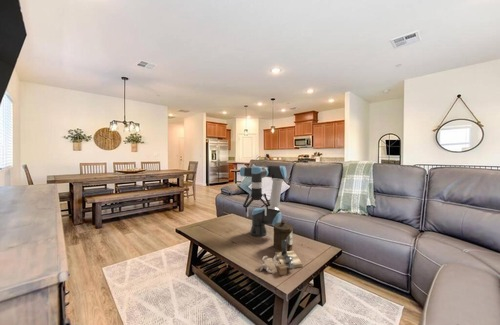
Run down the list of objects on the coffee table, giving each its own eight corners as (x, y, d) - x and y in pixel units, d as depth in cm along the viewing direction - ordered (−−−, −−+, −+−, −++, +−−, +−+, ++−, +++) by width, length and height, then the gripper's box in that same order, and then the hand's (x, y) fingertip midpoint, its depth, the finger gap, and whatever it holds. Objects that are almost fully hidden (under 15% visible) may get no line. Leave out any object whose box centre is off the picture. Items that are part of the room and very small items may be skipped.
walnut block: (276, 271, 138) (276, 264, 138) (282, 270, 140) (282, 263, 140) (280, 275, 134) (280, 268, 134) (286, 273, 136) (286, 267, 136)
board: (275, 254, 159) (275, 251, 159) (293, 253, 161) (293, 250, 161) (283, 270, 140) (283, 266, 140) (303, 268, 142) (303, 264, 142)
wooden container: (292, 253, 162) (292, 224, 160) (272, 251, 165) (272, 223, 163) (292, 244, 176) (292, 218, 174) (274, 242, 179) (274, 216, 177)
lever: (295, 268, 138) (295, 251, 137) (288, 268, 137) (288, 252, 136) (286, 253, 157) (286, 238, 156) (280, 253, 157) (280, 238, 156)
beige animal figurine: (274, 266, 150) (271, 251, 152) (285, 266, 144) (281, 251, 146) (260, 276, 138) (256, 260, 140) (271, 276, 132) (267, 259, 134)
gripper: (240, 189, 153) (240, 218, 154) (274, 188, 156) (274, 216, 158) (239, 187, 160) (239, 214, 162) (271, 186, 164) (271, 213, 165)
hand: (256, 215), depth 160 cm, fingers open, 13 cm apart
